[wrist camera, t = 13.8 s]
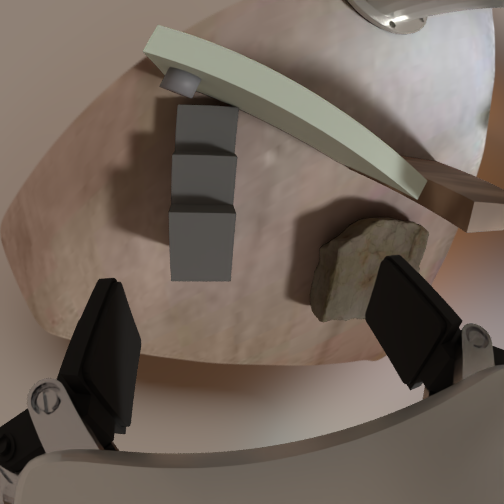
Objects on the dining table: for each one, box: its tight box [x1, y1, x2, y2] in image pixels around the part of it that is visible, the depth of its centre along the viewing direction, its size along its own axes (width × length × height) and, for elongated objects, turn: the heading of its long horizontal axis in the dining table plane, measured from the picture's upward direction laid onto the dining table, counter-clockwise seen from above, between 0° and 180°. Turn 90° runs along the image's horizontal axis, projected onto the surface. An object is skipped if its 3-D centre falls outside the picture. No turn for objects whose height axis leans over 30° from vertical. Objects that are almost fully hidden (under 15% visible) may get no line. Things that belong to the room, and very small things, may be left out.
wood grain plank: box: [349, 156, 504, 233], centre depth 20 cm, size 2×14×16 cm, turn 90°
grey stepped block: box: [169, 105, 239, 281], centre depth 22 cm, size 14×5×6 cm, turn 174°
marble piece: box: [310, 217, 429, 322], centre depth 32 cm, size 17×15×4 cm
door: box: [143, 25, 427, 200], centre depth 17 cm, size 3×18×12 cm, turn 64°
